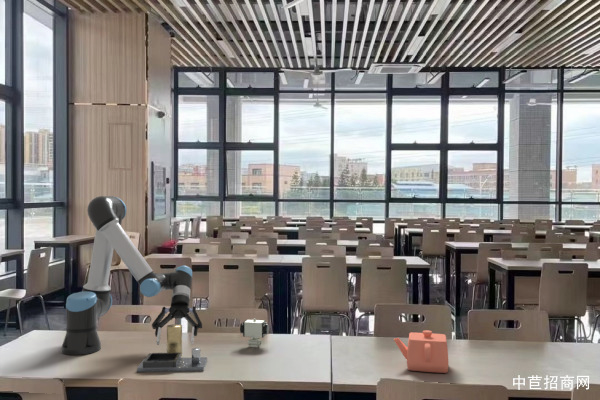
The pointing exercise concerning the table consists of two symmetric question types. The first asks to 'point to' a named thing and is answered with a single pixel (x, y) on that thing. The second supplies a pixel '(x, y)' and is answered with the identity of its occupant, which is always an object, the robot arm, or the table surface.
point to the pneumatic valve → (254, 331)
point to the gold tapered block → (174, 338)
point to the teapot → (425, 352)
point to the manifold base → (172, 362)
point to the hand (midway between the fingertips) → (174, 343)
